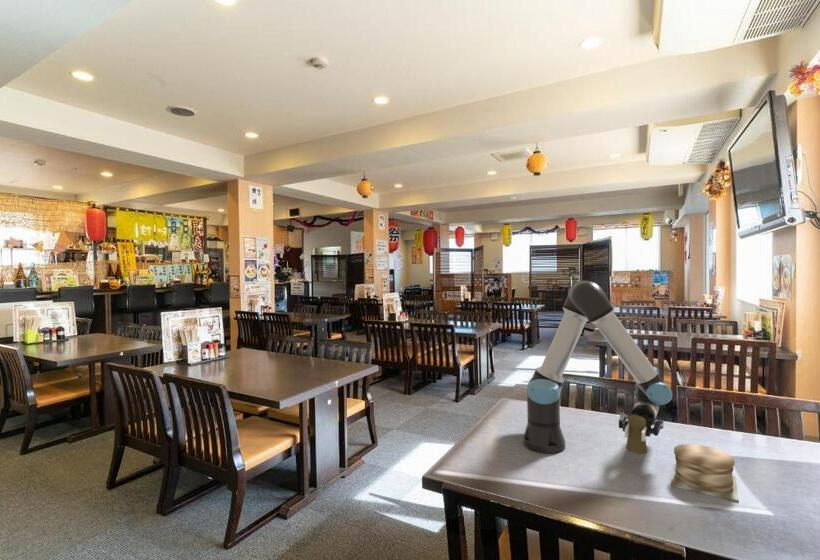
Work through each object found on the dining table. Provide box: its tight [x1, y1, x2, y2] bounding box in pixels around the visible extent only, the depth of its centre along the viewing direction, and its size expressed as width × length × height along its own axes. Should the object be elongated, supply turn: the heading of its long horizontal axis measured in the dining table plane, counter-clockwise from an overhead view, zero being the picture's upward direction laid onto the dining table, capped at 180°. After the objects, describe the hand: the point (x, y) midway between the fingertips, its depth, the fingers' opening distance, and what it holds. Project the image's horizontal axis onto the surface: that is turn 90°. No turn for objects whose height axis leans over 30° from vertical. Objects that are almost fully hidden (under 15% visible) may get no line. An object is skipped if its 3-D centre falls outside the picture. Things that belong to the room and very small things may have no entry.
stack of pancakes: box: [670, 443, 740, 503], centre depth 125 cm, size 16×16×9 cm
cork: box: [625, 415, 648, 455], centre depth 134 cm, size 6×6×11 cm
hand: (634, 435), depth 129 cm, fingers closed on cork, 4 cm apart
